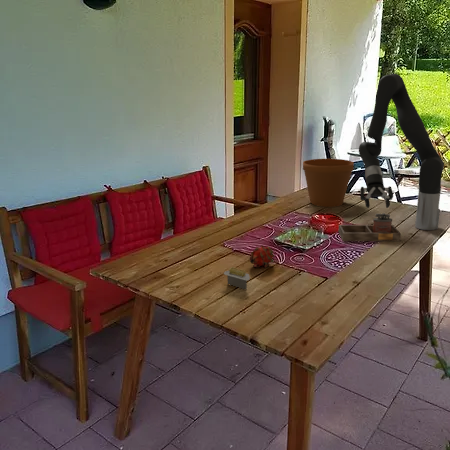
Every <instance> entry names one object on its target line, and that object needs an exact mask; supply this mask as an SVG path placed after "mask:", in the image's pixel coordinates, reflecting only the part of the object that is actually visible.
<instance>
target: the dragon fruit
mask: <svg viewBox="0 0 450 450" xmlns="http://www.w3.org/2000/svg"><path fill="white" fill-rule="evenodd" d="M274 261H275V254H274V250H273V249H272V248H271V247H270V246H266V247H265V246H264V245H261V247H255V248H254V250H252V251H251V253H250V257H249V262H250V263H251V264H252V267H253V268H260V267H262V266H263V267H264V268H267V267H268V266H269V264H272V263H274Z"/></svg>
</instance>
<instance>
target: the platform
mask: <svg viewBox="0 0 450 450" xmlns="http://www.w3.org/2000/svg"><path fill="white" fill-rule="evenodd" d="M223 275H225V276H226V277H227V285H228V284H230V285H229V286H231V285H233V286H232V287H234V286H236V287H235V288H237V287H239V288H238V289H241V288H242V290H244V289H246V290H245V291H247V287H248V286H247V282H248V281H250V274H249V273H246V270H245V269H240V268H237V267H234V266H232V267H230V268H229V270H226V271H224V272H223Z"/></svg>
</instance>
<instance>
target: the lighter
mask: <svg viewBox="0 0 450 450" xmlns="http://www.w3.org/2000/svg"><path fill="white" fill-rule="evenodd" d="M390 216H391V215H390V213H387V214H386V213H385V212H382V213H375V215H374V217H375V218H373V224H372V225H373V233H391V225H393V224H392V222H393V218H390Z"/></svg>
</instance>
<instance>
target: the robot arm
mask: <svg viewBox="0 0 450 450" xmlns="http://www.w3.org/2000/svg"><path fill="white" fill-rule="evenodd" d="M391 100H392V103H393V104H394V106H395V110H396V116H397V121H398V125H399V127H400V129H401V131H402V133H403V135H404V137H405V138H406V140H407V141H408V143H409V144H410V145H411V146H412V147H413V148H414V150H415V151H416V153H417V155H418V157H419V160H420V162H421V164H420V167H419V173H418V175H419V176H418V195H417V203H416V214H415V223H414V226H415V227H414V228H416V229H419V230H424V231H433V230H438V229H439V223H440V222H439V221H440V216H441V215H440V214H441V209H440V208H439V207H440V198H441V191H442V174H443V172H444V170H445V162H444V161H443V158H442V157H441V156H440V155H439V153H438V151H437V150H436V148H435V146H434V145H433V143H432V139H431V137H430V136H429V135H430V134H429V133H428V131H427V128H426V126H425V124H424V122H423V120H422V118H421V115H420V114H419V112H418V110H417V108H416V106H415V104H414V103H413V101H412V99H411V97H410V94H409V91H408V90H407V87H406V84H405V81H404V79H403V77H402V76H400V75H399V74H397V73H390V74H385V75H384V76H382V77H381V78H380V79H379V82H378V84H377V91H376V98H375V104H374V108H373V112H372V113H373V114H372V117H371V120H370V123H369V127H368V129H367V137H368V138H369V139H372V140H374V141H373V142H372V141H371V142H370V141H363V142H361V143H360V144H359V146H358V154H359V156H360V158H361V160H362V162H363V165H364V171H365V172H364V175H365V176H364V177H365V178H364V179H365V182H366V187H364V186H361V187H360V189H359V192H360V193H359V194H360V195H359V196H360V200H361V201H364V203H365V207H366V208H367V209H369V208H370V206H371V204H370V199H371V197H372V198H375V197H377V198H379V197H381V198H382V199H383V200H384V201H385V207H386V209H388V208H389V207H390V206H391V201H392V200H393V198H394V194H393V188H392V186H388V187H385V186H384V185H385V184H384V179H383V173H382V169H381V161H380V159H379V158H378V157H380V155H381V153H382V146H383V145H382V142H383V135H384V131H385V128H386V126H387V125H386V124H387V121H388V109H389V105H390V102H391ZM365 192H367V195H365Z"/></svg>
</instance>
